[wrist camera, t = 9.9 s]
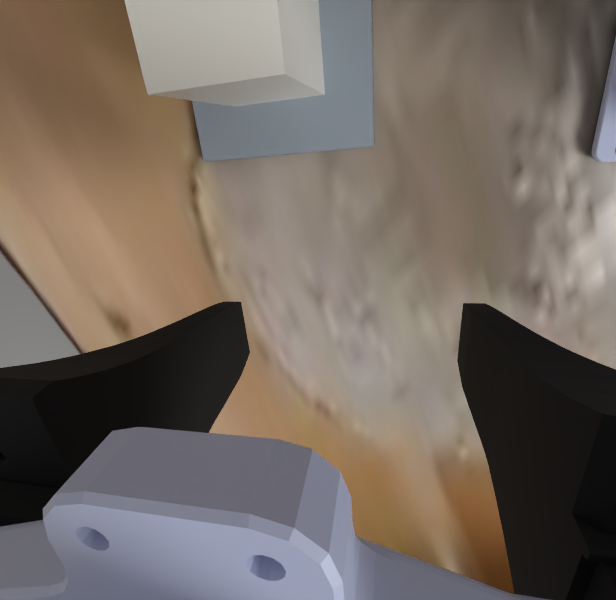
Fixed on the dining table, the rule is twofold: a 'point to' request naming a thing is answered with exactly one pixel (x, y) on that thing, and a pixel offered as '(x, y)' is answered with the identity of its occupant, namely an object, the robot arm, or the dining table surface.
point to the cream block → (229, 49)
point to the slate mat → (305, 99)
